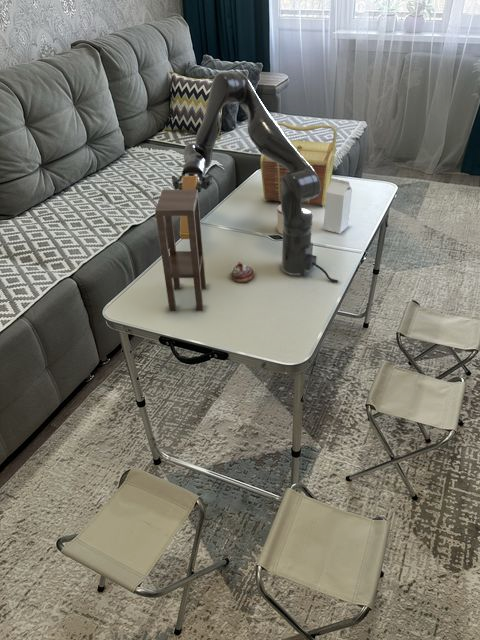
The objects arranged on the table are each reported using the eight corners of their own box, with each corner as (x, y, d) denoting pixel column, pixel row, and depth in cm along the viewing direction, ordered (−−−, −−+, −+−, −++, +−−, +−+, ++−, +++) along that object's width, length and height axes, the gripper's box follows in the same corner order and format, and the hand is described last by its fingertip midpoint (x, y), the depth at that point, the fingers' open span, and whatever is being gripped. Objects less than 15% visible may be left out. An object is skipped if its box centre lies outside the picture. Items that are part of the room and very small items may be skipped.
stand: (175, 286, 164) (162, 189, 144) (206, 285, 164) (197, 189, 144) (169, 310, 153) (155, 210, 133) (202, 310, 153) (193, 210, 133)
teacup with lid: (294, 238, 190) (295, 208, 182) (272, 232, 193) (272, 203, 186) (307, 225, 198) (309, 196, 190) (286, 220, 201) (287, 192, 194)
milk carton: (340, 234, 192) (345, 184, 180) (323, 229, 195) (327, 181, 183) (347, 226, 197) (353, 178, 185) (331, 222, 200) (335, 174, 188)
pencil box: (184, 182, 168) (182, 175, 165) (197, 182, 168) (196, 175, 165) (181, 239, 160) (179, 233, 158) (195, 239, 161) (194, 233, 158)
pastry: (227, 273, 170) (227, 260, 167) (248, 268, 172) (248, 255, 169) (236, 285, 164) (236, 271, 161) (258, 280, 167) (258, 266, 164)
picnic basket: (335, 188, 226) (341, 116, 207) (327, 212, 207) (333, 135, 188) (271, 183, 231) (271, 112, 212) (257, 206, 212) (257, 130, 193)
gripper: (172, 161, 174) (165, 179, 161) (213, 160, 174) (210, 179, 161) (174, 182, 179) (168, 202, 166) (215, 182, 179) (212, 202, 166)
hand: (189, 191), depth 164 cm, fingers closed on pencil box, 4 cm apart
